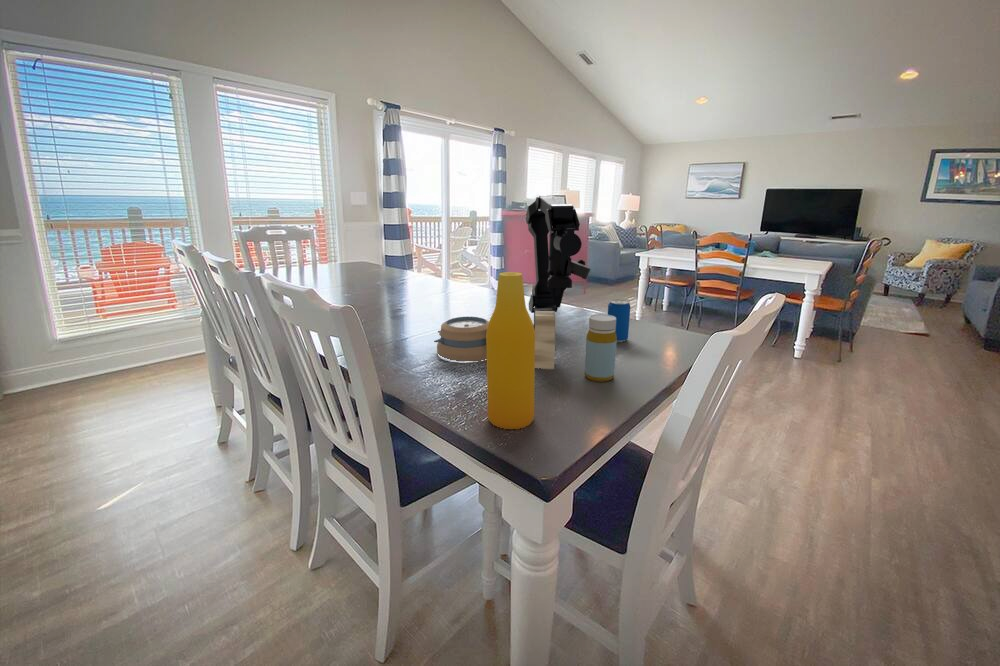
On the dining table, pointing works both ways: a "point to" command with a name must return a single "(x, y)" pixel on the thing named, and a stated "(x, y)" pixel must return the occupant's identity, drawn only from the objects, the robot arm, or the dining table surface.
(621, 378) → the dining table surface
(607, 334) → the bottle
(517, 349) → the beer bottle
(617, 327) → the beverage can
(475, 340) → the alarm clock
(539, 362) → the block
